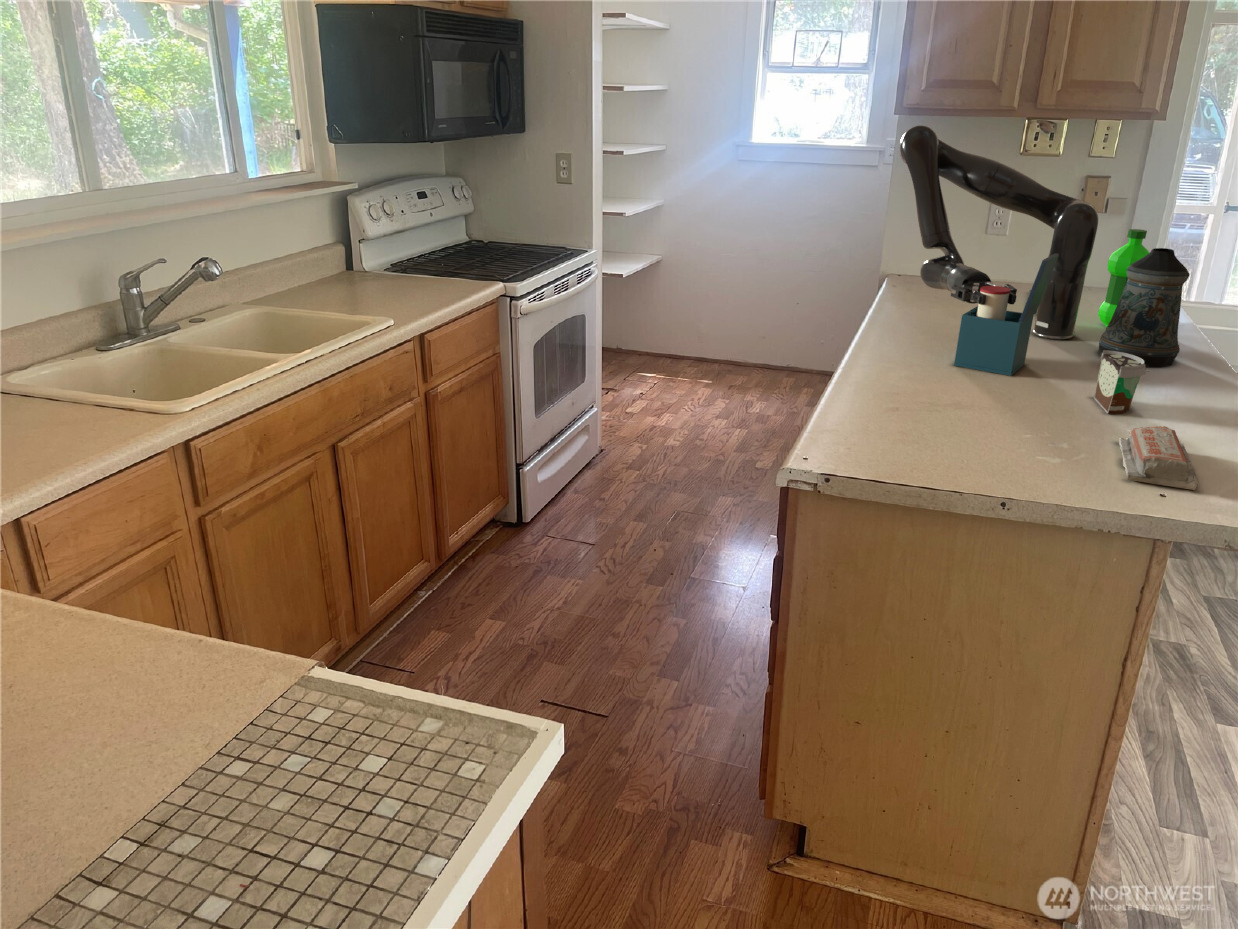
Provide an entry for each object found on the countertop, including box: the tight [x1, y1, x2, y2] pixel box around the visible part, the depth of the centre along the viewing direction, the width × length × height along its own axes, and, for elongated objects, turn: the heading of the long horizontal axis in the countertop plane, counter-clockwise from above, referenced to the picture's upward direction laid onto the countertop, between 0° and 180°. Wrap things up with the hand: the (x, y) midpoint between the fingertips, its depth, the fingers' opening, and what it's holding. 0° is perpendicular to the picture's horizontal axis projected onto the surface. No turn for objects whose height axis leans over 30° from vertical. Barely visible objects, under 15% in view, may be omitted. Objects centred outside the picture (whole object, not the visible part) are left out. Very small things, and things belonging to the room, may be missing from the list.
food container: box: [1093, 350, 1146, 415], centre depth 172 cm, size 12×6×10 cm, turn 168°
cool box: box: [953, 306, 1035, 377], centre depth 198 cm, size 13×11×12 cm
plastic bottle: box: [1098, 228, 1150, 327], centre depth 227 cm, size 10×10×25 cm
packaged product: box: [1118, 425, 1199, 491], centre depth 146 cm, size 18×5×10 cm
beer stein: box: [1098, 247, 1190, 368], centre depth 201 cm, size 16×19×25 cm
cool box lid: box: [1019, 253, 1059, 322], centre depth 188 cm, size 14×11×1 cm
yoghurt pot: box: [977, 285, 1010, 321], centre depth 196 cm, size 6×6×10 cm
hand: (998, 300), depth 192 cm, fingers closed on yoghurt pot, 6 cm apart
